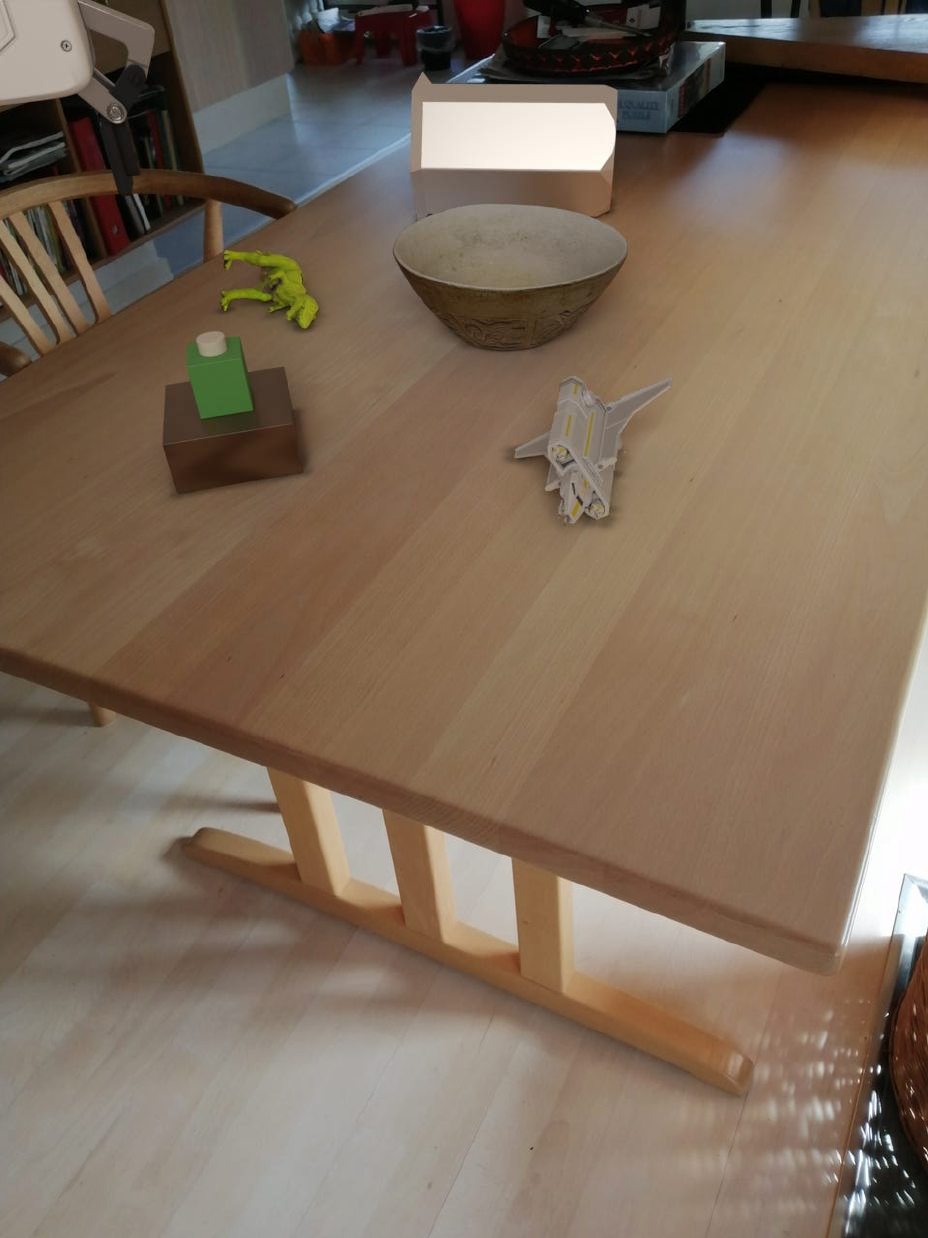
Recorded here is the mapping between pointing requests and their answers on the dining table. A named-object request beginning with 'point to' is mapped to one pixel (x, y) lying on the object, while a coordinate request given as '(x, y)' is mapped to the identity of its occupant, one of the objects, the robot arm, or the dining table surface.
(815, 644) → the dining table surface
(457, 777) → the dining table surface
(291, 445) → the walnut block
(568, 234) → the bowl
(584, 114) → the white boxy piece
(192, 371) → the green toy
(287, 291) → the dinosaur figurine
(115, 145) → the robot arm
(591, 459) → the toy spacecraft
